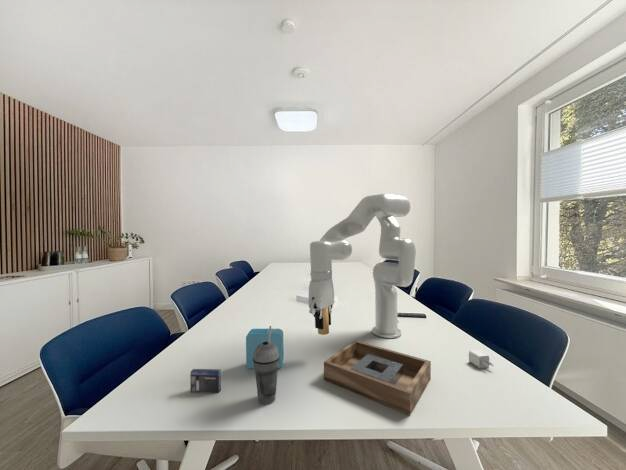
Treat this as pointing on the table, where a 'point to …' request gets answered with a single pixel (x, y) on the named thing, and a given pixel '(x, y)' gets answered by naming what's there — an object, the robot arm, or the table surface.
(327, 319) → the peg
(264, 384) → the beverage cup
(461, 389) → the table surface
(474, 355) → the usb wall charger
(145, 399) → the table surface
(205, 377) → the mini dv tape
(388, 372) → the bore plate
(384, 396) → the open box
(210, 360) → the table surface
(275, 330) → the data package
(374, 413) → the table surface
